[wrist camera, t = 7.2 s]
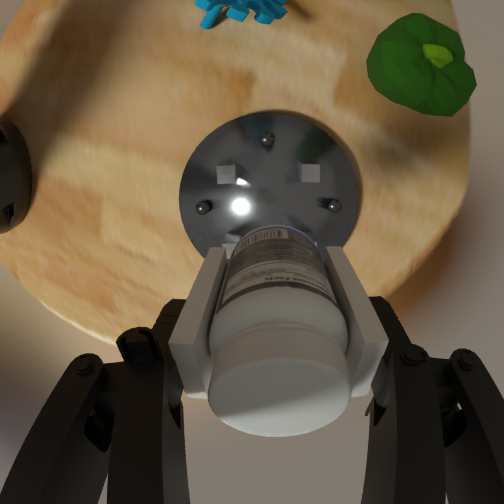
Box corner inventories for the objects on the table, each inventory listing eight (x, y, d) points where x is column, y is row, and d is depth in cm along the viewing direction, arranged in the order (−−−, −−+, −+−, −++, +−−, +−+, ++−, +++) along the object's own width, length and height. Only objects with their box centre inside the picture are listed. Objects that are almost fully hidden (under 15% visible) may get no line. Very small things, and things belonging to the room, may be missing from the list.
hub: (192, 280, 28) (184, 297, 25) (174, 120, 21) (161, 120, 18) (346, 278, 27) (354, 295, 24) (357, 117, 20) (370, 116, 17)
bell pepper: (433, 54, 16) (497, 38, 7) (425, 126, 20) (495, 135, 11) (357, 22, 16) (402, -22, 7) (347, 97, 20) (398, 82, 11)
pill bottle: (299, 312, 15) (315, 447, 8) (219, 289, 15) (182, 425, 7) (336, 239, 13) (400, 367, 6) (245, 208, 13) (214, 327, 5)
